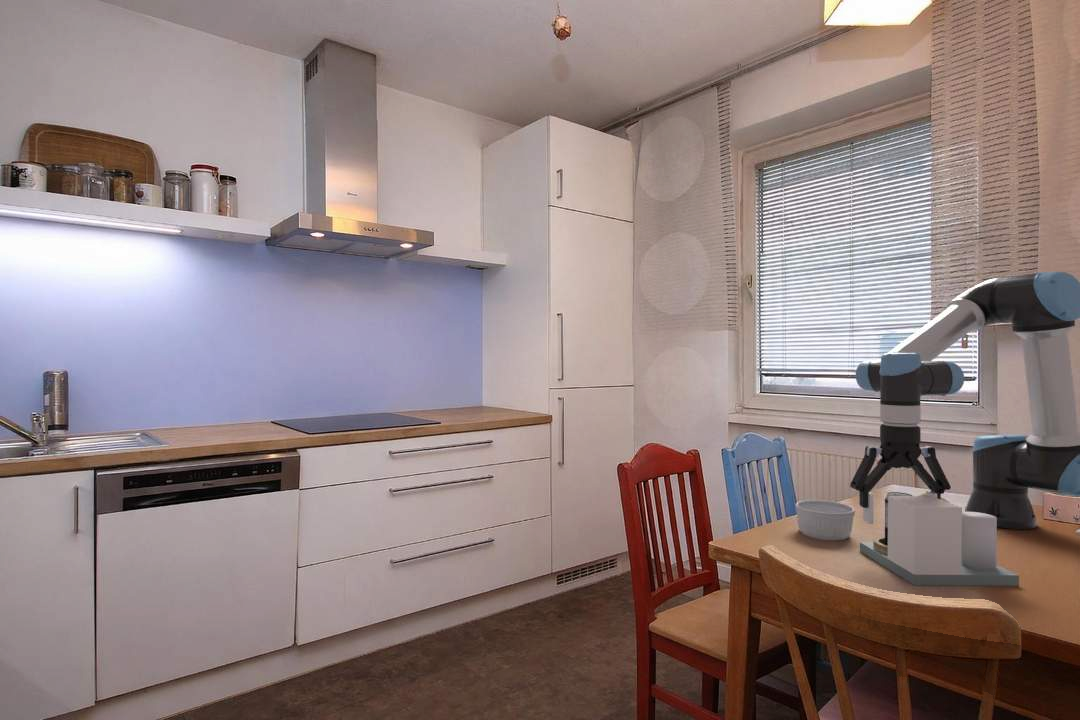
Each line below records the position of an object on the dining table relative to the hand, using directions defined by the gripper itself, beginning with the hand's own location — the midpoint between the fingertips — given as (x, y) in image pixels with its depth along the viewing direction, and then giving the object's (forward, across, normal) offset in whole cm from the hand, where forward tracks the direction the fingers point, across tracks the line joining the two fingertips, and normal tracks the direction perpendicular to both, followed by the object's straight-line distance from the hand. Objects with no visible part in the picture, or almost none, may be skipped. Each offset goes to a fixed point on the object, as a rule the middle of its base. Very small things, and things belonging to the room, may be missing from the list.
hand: (899, 522), depth 130 cm
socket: (+6, 0, 0) cm, 6 cm away
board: (+8, -4, +5) cm, 10 cm away
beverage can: (+6, 0, 0) cm, 6 cm away
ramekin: (+8, +8, -18) cm, 22 cm away
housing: (+6, +1, +10) cm, 12 cm away
